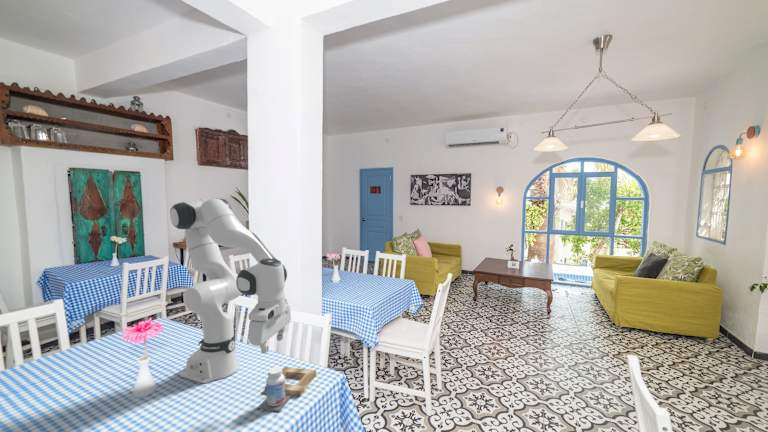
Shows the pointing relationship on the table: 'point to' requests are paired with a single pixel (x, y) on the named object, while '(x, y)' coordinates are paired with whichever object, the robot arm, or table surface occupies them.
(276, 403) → the pill bottle
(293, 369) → the holder
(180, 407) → the table surface
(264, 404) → the coaster
